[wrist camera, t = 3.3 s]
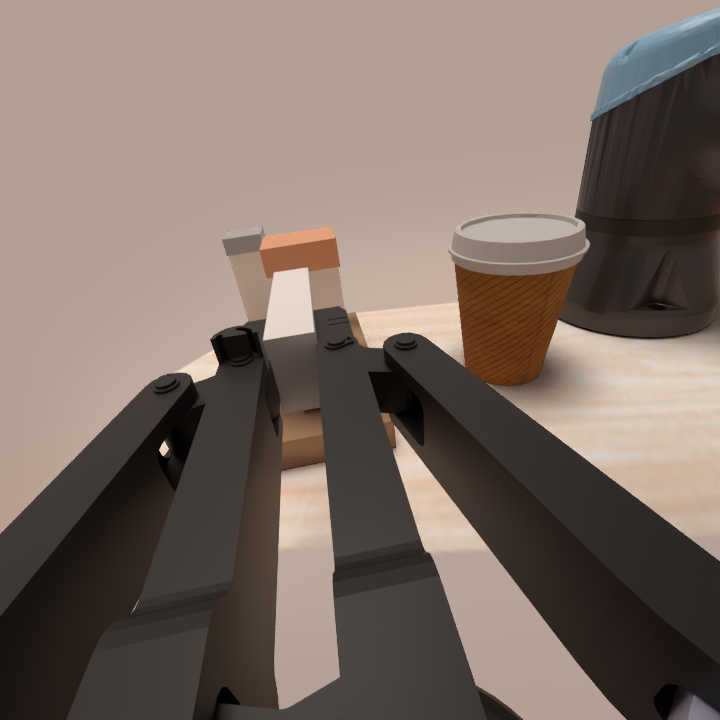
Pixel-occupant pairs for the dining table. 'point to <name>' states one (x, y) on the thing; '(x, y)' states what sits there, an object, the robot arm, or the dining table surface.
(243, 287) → the grey topped white block
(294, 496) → the dining table surface
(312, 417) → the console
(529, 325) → the disposable coffee cup
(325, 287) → the orange topped beige block
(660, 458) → the dining table surface
